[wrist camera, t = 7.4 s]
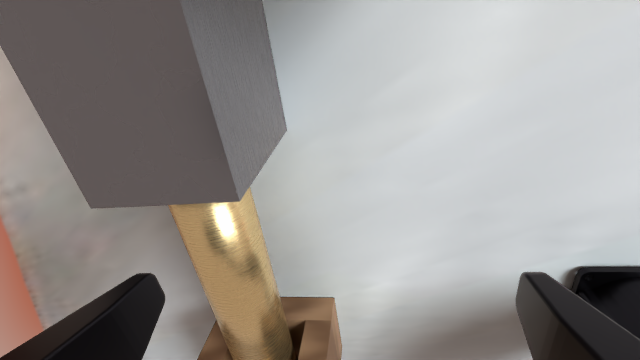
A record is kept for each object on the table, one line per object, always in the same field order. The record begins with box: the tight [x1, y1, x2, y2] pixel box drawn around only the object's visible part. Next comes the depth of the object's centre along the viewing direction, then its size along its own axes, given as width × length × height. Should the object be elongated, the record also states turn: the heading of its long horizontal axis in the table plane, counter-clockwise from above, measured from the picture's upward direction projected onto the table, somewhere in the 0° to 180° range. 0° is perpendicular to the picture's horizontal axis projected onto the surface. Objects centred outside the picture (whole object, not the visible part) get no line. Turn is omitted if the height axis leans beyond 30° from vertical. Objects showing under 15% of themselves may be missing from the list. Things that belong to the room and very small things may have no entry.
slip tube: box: [168, 187, 298, 360], centre depth 19 cm, size 4×20×4 cm, turn 8°
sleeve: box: [0, 0, 287, 208], centre depth 14 cm, size 7×11×8 cm, turn 8°
